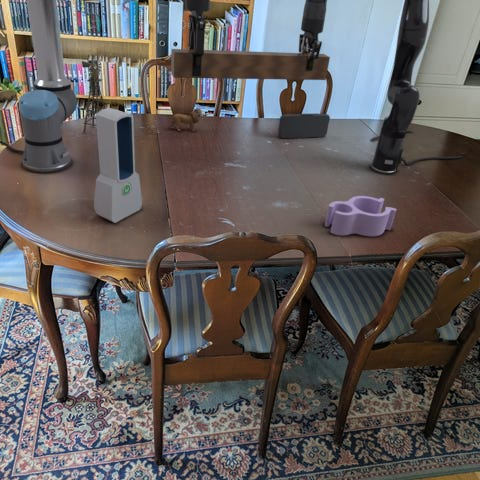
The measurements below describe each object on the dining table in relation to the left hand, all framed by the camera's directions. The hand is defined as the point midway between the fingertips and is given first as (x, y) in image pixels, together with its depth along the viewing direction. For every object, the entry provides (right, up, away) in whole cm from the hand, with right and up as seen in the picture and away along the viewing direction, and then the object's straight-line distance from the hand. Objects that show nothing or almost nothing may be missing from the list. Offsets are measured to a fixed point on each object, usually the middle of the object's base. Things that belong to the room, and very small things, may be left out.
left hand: (194, 73), depth 156 cm
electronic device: (-20, -48, -19) cm, 55 cm away
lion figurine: (-8, -8, +44) cm, 46 cm away
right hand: (+39, +6, +10) cm, 40 cm away
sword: (+86, -7, +62) cm, 106 cm away
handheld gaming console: (+43, -10, +50) cm, 66 cm away
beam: (+19, +1, +6) cm, 20 cm away
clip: (+51, -52, -13) cm, 73 cm away
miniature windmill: (-43, -12, +33) cm, 55 cm away
